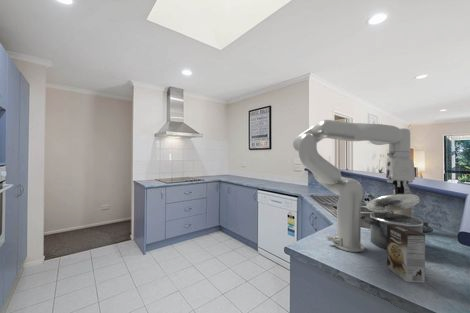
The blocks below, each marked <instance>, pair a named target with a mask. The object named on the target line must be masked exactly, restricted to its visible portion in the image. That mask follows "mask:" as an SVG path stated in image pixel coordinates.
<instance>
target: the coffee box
mask: <svg viewBox="0 0 470 313" xmlns="http://www.w3.org/2000/svg"><path fill="white" fill-rule="evenodd" d="M386 268H387V269H389V270H390V271H391V272H392V273H394V274H395V275H397V276H398V278H401V280H402V281H404V282H405V283H420V284H421V283H423V284H425V283H426V282H425V281H426V280H425V277H426V273H425V272H426V271H425V270H426V234H425V233H423V232H422V233H421V232H418V231H416V230H413V229H411V228H409V227H406V226H404V225H387V250H386Z"/></svg>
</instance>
